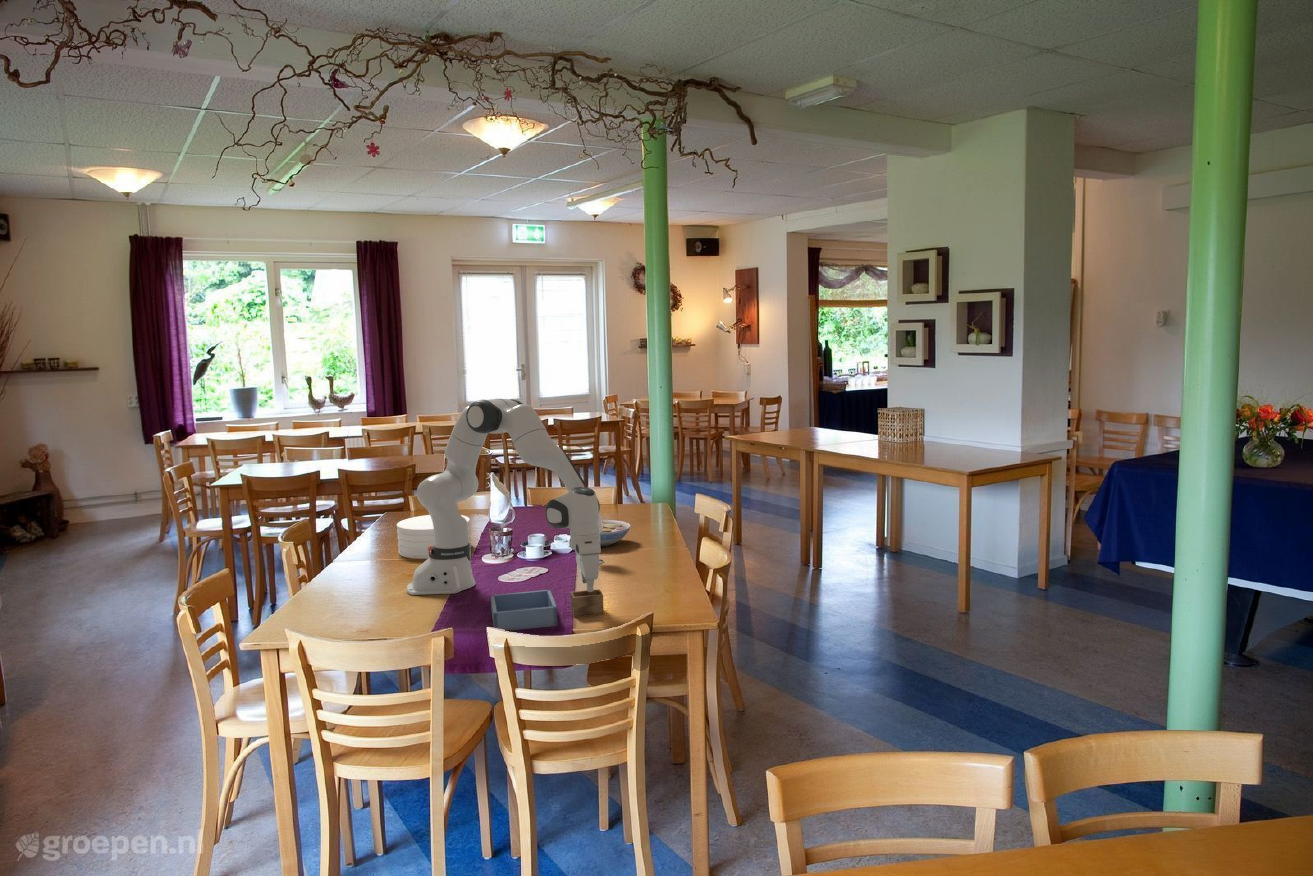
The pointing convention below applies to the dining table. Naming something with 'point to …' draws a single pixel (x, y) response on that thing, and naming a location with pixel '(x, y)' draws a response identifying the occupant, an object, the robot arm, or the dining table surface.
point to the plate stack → (418, 536)
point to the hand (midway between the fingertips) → (587, 587)
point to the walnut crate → (586, 603)
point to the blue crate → (524, 610)
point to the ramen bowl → (613, 531)
